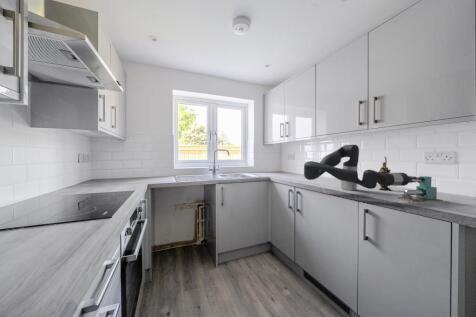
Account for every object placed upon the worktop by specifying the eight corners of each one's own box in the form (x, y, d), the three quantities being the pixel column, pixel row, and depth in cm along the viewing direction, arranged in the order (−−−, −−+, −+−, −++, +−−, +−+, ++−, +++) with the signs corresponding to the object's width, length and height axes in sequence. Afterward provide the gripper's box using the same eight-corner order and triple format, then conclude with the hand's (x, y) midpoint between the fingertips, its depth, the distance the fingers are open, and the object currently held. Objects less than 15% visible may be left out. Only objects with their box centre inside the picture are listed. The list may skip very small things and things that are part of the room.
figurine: (376, 189, 143) (377, 156, 143) (384, 188, 147) (385, 156, 147) (385, 191, 138) (386, 156, 137) (394, 190, 141) (395, 156, 141)
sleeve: (427, 199, 108) (428, 177, 108) (416, 196, 114) (416, 175, 114) (434, 199, 108) (434, 177, 108) (421, 196, 115) (422, 175, 115)
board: (411, 201, 106) (411, 200, 106) (397, 198, 114) (397, 197, 114) (442, 201, 108) (442, 199, 108) (426, 197, 116) (426, 196, 116)
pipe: (409, 199, 108) (409, 187, 108) (402, 198, 112) (402, 186, 112) (436, 199, 110) (437, 187, 110) (429, 197, 114) (429, 186, 114)
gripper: (385, 183, 115) (410, 183, 117) (407, 187, 102) (435, 187, 104) (385, 171, 115) (411, 171, 117) (407, 173, 102) (435, 173, 104)
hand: (422, 179), depth 111 cm, fingers closed
